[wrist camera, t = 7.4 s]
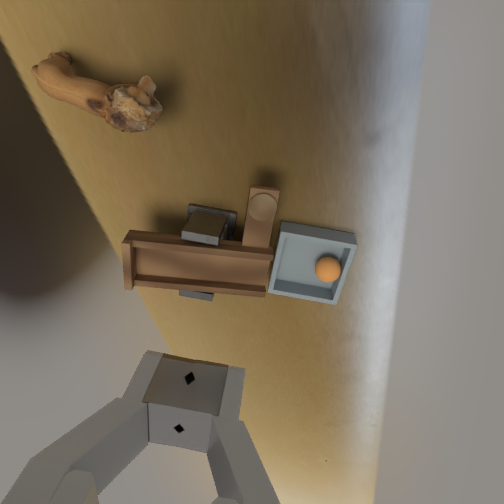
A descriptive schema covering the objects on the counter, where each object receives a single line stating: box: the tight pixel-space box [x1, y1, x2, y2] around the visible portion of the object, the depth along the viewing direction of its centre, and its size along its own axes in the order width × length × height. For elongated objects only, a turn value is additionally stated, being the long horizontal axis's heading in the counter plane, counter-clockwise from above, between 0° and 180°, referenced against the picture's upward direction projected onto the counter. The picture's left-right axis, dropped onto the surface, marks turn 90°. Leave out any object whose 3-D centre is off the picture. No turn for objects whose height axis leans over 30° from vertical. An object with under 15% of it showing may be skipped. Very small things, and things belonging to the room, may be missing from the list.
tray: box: [268, 221, 358, 305], centre depth 42 cm, size 9×9×3 cm
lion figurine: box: [31, 52, 162, 133], centre depth 31 cm, size 15×5×9 cm, turn 79°
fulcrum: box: [179, 204, 237, 301], centre depth 40 cm, size 9×6×7 cm, turn 171°
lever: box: [122, 185, 280, 297], centre depth 36 cm, size 13×16×3 cm
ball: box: [315, 257, 341, 282], centre depth 41 cm, size 3×3×3 cm
